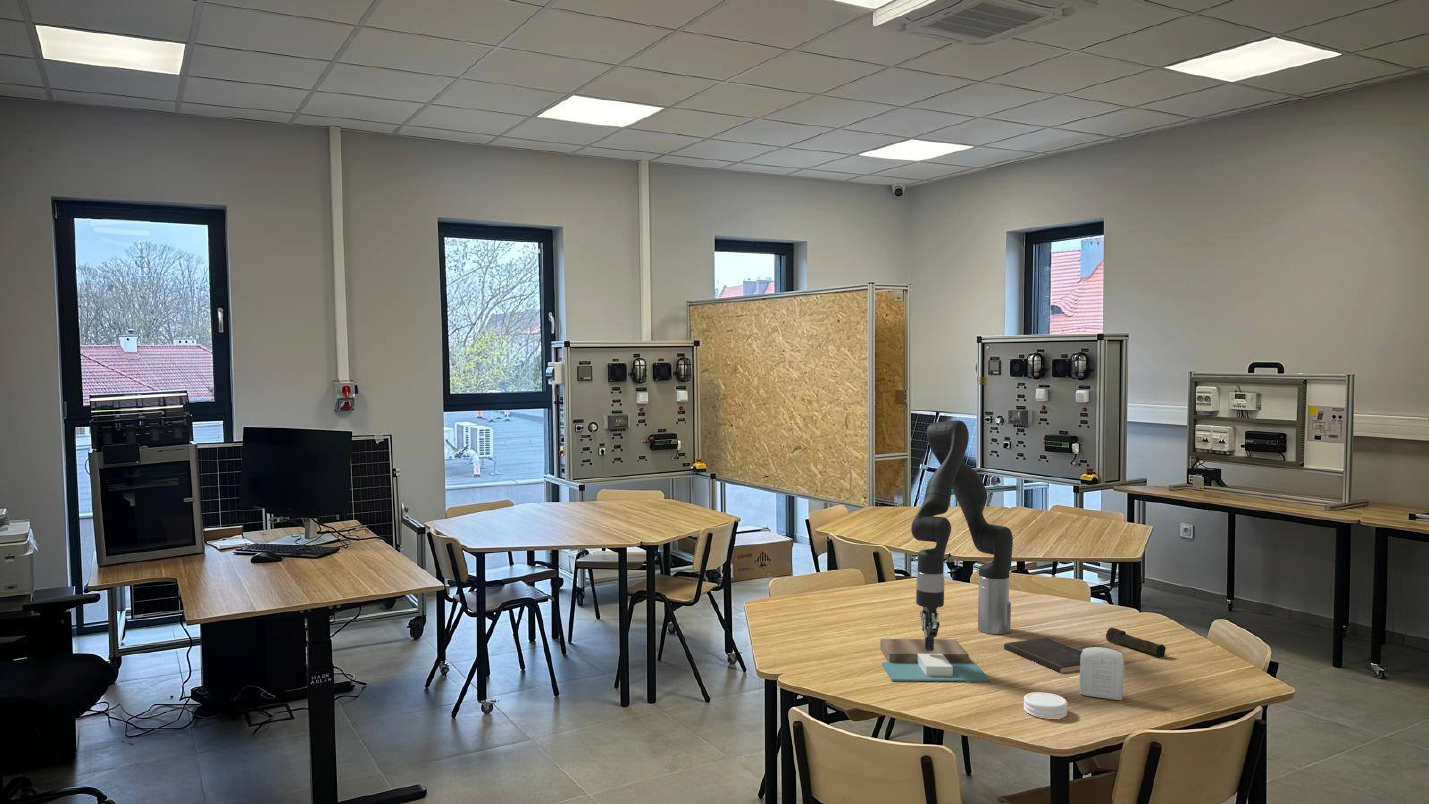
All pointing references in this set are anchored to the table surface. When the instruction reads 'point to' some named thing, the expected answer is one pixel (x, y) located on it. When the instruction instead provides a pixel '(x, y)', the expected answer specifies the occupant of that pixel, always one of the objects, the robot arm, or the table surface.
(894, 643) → the deck
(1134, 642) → the hand tool
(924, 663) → the white flat block
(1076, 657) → the hardcover book
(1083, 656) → the white upright block
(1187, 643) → the table surface
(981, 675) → the mat
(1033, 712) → the white disc stack
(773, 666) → the table surface
